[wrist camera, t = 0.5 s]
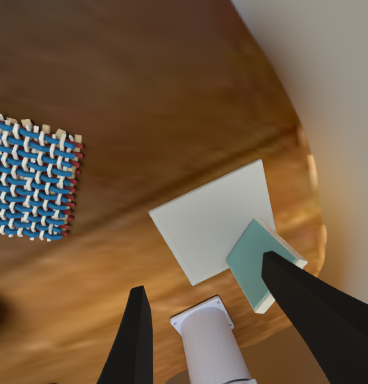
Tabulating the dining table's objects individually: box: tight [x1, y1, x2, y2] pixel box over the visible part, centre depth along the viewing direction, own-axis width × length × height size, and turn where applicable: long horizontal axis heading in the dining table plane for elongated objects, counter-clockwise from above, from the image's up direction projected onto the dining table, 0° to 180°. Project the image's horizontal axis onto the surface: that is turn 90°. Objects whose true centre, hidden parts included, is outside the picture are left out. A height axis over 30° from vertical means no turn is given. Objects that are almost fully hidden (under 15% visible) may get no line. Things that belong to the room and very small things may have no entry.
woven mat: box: [0, 114, 83, 241], centre depth 15 cm, size 10×11×2 cm
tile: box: [225, 217, 308, 314], centre depth 21 cm, size 1×7×7 cm, turn 152°
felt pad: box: [148, 159, 276, 286], centre depth 22 cm, size 13×13×1 cm
